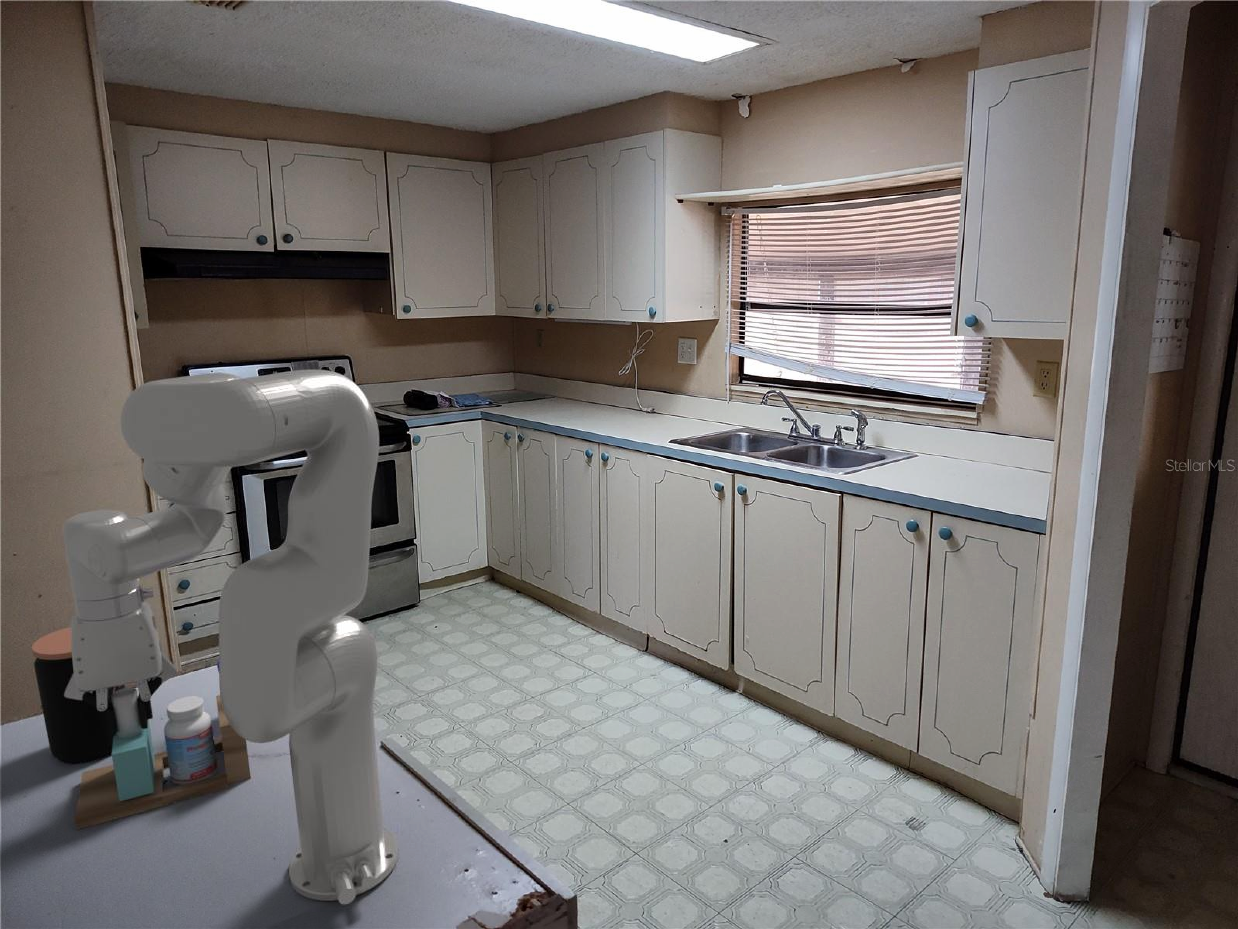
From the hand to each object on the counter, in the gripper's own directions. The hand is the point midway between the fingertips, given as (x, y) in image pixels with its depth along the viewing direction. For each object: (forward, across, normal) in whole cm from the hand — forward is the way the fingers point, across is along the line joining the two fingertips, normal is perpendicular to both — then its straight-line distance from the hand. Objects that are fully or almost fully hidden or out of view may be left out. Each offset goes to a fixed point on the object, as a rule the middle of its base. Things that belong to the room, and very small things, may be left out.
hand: (129, 726), depth 113 cm
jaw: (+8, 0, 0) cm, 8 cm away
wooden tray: (+10, -4, 0) cm, 10 cm away
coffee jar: (+10, +6, -16) cm, 20 cm away
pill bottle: (+10, -7, 0) cm, 12 cm away
